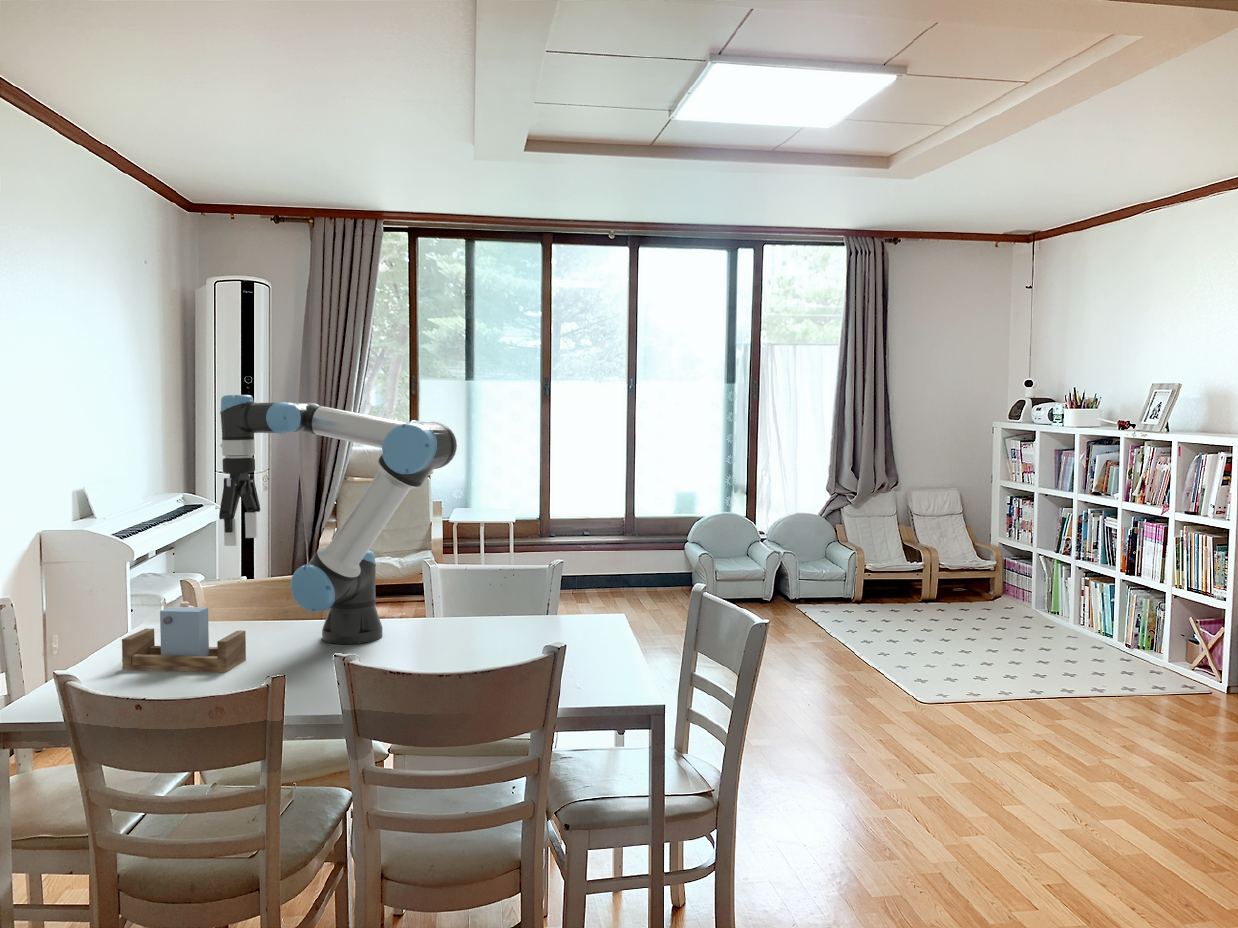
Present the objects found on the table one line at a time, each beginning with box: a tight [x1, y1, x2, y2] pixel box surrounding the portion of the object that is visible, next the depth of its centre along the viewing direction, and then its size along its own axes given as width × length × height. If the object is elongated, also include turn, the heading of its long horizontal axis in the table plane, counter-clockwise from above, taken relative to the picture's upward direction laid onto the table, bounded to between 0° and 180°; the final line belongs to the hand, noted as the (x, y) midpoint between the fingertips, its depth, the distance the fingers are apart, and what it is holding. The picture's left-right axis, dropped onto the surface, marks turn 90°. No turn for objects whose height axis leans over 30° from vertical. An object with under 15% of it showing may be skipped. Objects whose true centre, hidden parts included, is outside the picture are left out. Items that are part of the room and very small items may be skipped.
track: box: [121, 628, 247, 673], centre depth 216 cm, size 24×10×7 cm, turn 88°
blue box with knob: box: [159, 606, 210, 656], centre depth 215 cm, size 9×6×12 cm, turn 88°
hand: (241, 541), depth 234 cm, fingers open, 13 cm apart
